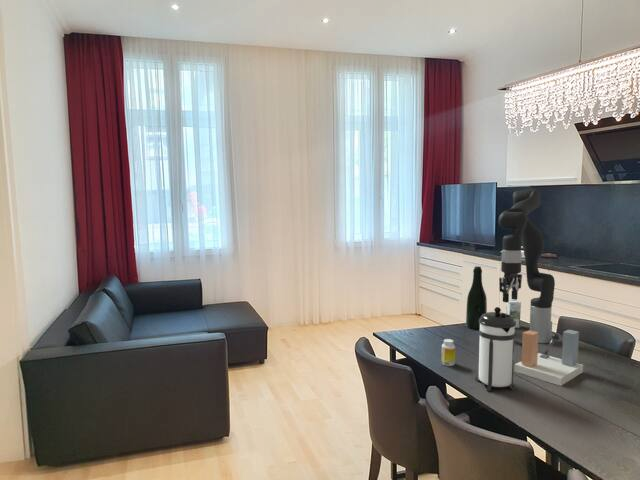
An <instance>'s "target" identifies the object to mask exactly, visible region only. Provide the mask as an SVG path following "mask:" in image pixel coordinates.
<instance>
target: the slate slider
mask: <svg viewBox="0 0 640 480" xmlns="http://www.w3.org/2000/svg"><path fill="white" fill-rule="evenodd" d="M579 336H580V332H579V331H577V330H573V329H567V330H565V331H562V351H561V359H562V364H566V365H570V366H573V365H575V364H577V363H578V364H579V362H578V358H579V341H580V339H579V338H580V337H579Z"/></svg>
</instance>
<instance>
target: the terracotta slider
mask: <svg viewBox="0 0 640 480" xmlns="http://www.w3.org/2000/svg"><path fill="white" fill-rule="evenodd" d="M538 336H539V332H534V331H530V329H529V330H525V331H523V332H522V337H521V338H522V342H521V343H522V344H521V361H522V363H521V364H523V365H526V366H530V367H532V366H534V365H536V364H537V360H538V353H539V343H538Z"/></svg>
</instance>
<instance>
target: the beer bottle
mask: <svg viewBox="0 0 640 480" xmlns="http://www.w3.org/2000/svg"><path fill="white" fill-rule="evenodd" d="M472 272H473V275H472V284H471V287H470V289H469V291H468V294H467V297H466V298H467V299H466V312H465V313H466V314H465V315H466V317H465V327H466V328H468V329H471V330H478V331H479V328H480V323H479V319H480V318H481V316H482V315H483V314H485V313H488V311H487V310H488V307H487V305H488V299H487V294H486V291H485V289H484V286H483V277H482V275H483V274H482V273H483V269H482V266H478V265H477V266H476V265H475V266H474V268H473V271H472Z"/></svg>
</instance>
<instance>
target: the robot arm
mask: <svg viewBox="0 0 640 480" xmlns="http://www.w3.org/2000/svg"><path fill="white" fill-rule="evenodd" d="M541 200H542V199H541V193H540V191H539V190H538V189H536V188H529V189H527V188H526V189H520V190H515V191H514V192H513V194H512V202H513V205H512V206H511V208H509V209H508V208H507V209H506V210H504V211H503V212H502V213H500V215H499V216H498V225H499V226H500V227H501V229H504V230H515V233H512V234H507V235H506V234H505V235H504V236H503V238H502V252H501V266H500V267H501V268H500V271H501V273H503V277H499V279H498V280H499V292H500V293H502V302H503V303H506V304H507V302H509V300H510V290H511V300H518V291H519V290H520V289H521V288H522V280H523V274H521V272H522V261H523V260H522V257H523V256H522V249H523V255H524V260H525V261H524V262H525V269H526V270H525V271H526V273H525V274H526V282H527V286H528V289H530V290H531V291H534V292H540V295H539V297H533V298H531V299H530V306H529V307H530V309H529V310H530V312H529V330H530V331H534V332H539V336H538V344H549V343H550V342H551V340H552V335H553V321H552V309H553V308H552V305H553V301H554V294H555V285H556V283H555V277H554V276H553V275H552V274H550V273H545V272H540V271H539V266H538V265H539V264H538V263H539V260H540V258H541V256H542V254H543V252H544V250H545V242H544V238H543V234H542V231H540V229H539V228H538V227H537V226H536V225H535V224H534V223H533V222H532V221H531V219H529V218H528V215H529V214H530V213H532V212H533V211H534V210H536V209H538V208H539V207H540V205H541Z"/></svg>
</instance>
